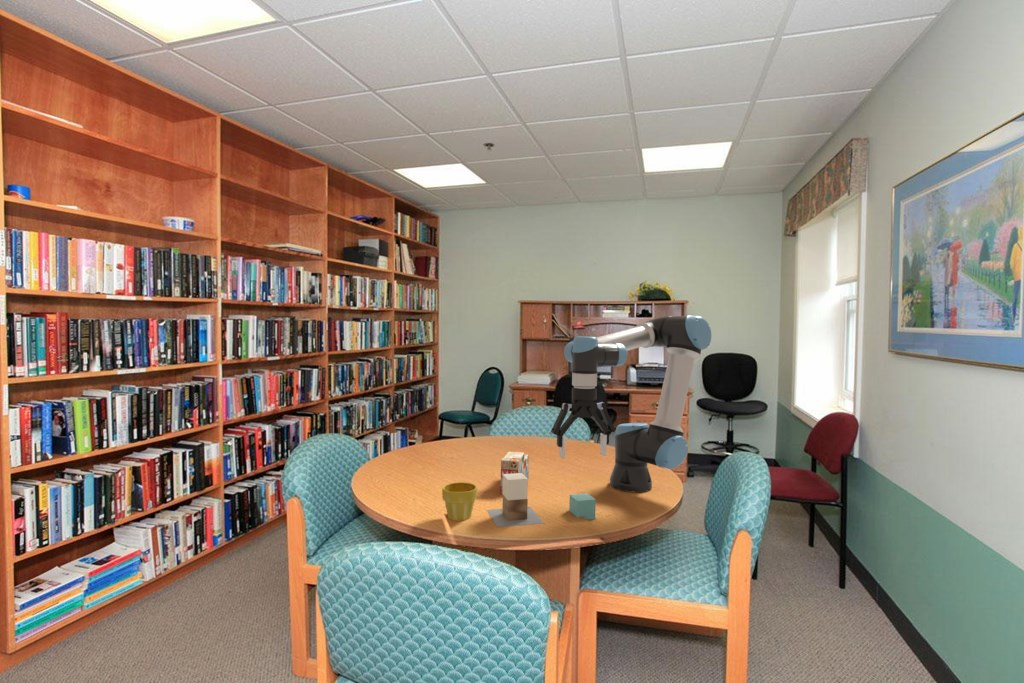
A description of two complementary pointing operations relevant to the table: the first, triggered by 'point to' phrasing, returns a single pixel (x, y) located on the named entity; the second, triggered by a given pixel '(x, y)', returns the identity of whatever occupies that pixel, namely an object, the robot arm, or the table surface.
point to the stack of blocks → (514, 465)
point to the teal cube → (582, 505)
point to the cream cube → (515, 486)
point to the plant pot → (459, 499)
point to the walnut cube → (515, 509)
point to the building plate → (502, 521)
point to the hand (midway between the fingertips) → (582, 456)
